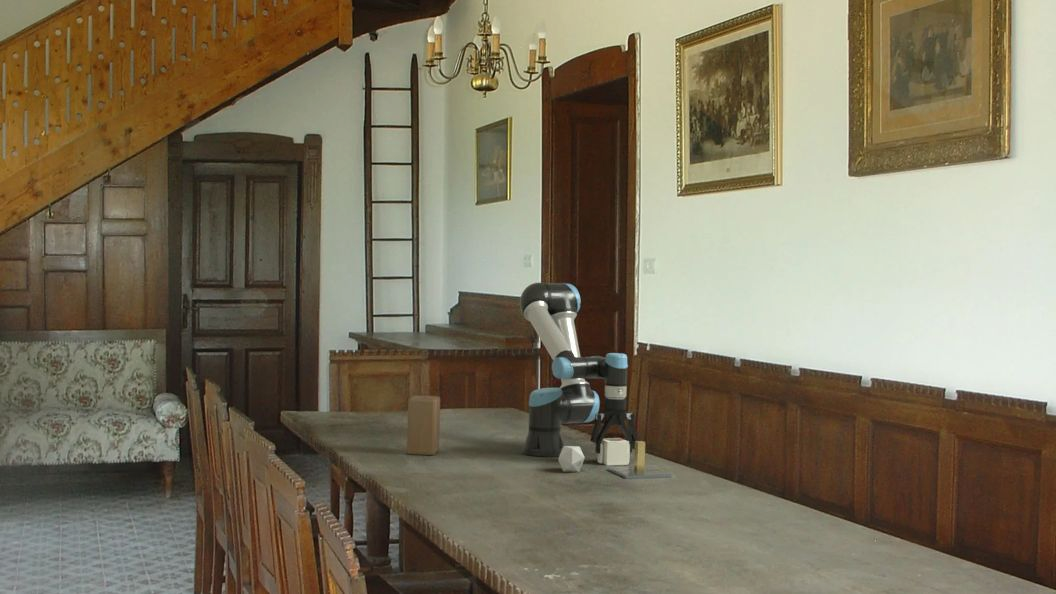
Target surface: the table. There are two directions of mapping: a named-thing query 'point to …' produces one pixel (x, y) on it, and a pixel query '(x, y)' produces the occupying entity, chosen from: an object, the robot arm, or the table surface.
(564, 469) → the die
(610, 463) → the cream open box
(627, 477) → the base plate
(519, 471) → the table surface
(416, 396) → the wooden block
